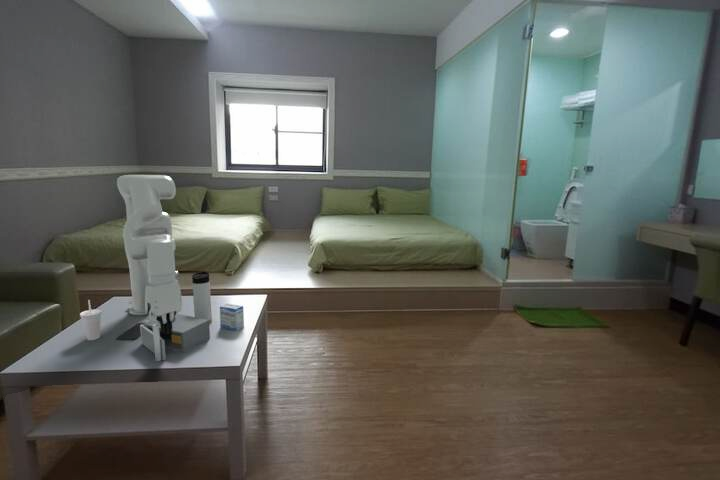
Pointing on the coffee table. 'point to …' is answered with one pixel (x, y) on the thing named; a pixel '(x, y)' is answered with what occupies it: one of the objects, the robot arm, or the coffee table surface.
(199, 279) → the travel mug
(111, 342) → the coffee table surface
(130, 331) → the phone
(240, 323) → the medicine box
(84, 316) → the smoothie
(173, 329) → the cabinet body
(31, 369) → the coffee table surface
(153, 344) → the side door
